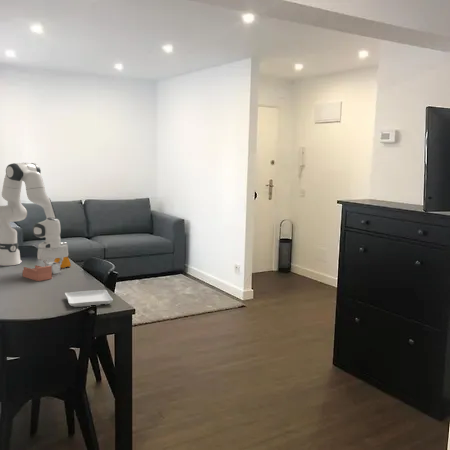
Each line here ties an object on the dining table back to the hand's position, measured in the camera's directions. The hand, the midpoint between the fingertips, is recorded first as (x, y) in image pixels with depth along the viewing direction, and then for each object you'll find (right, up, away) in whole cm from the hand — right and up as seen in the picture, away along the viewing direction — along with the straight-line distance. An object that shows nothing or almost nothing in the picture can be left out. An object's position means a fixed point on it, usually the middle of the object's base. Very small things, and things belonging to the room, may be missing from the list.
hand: (53, 265), depth 312 cm
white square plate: (+38, -14, -60) cm, 73 cm away
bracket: (-1, -2, +19) cm, 19 cm away
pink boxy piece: (-5, -6, -15) cm, 16 cm away
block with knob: (-1, -4, +1) cm, 5 cm away
